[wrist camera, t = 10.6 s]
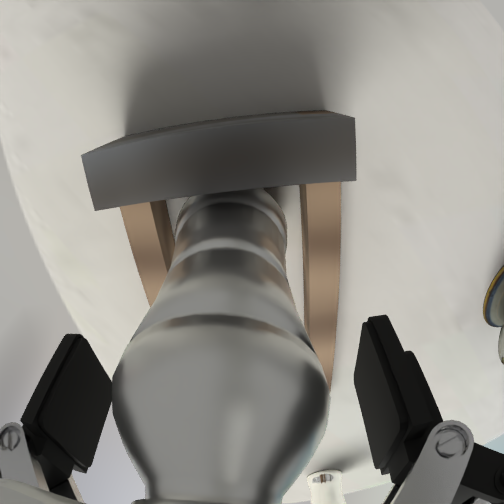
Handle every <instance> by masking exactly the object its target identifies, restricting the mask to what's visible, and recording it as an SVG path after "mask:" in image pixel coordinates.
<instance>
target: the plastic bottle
mask: <svg viewBox="0 0 504 504" xmlns="http://www.w3.org/2000/svg"><path fill="white" fill-rule="evenodd" d="M286 248H287V224H286V219H285V216H284V214H283V212H282V210H281V208H280V206H279V205H278V204H277V202H276V201H275V200H274V199H273V198H272V197H271V195H270V194H268V193H267V192H266V191H265V190H264V189H263V188H256V189H247V190H237V191H228V192H220V193H211V194H203V195H196V196H191V197H190V198H189V199H188V200H187V202H186V203H185V204H184V206H183V207H182V209H181V211H180V213H179V216H178V220H177V224H176V231H175V249H174V254H173V258H172V263H171V267H170V269H169V271H168V274H167V276H166V279H165V280H164V282H163V284H162V287H161V289H160V291H159V293H158V295H157V298H156V300H155V301H154V303H153V305H152V306H151V308H150V309H149V311H148V313H147V314H146V316H145V317H144V319H143V321H142V322H141V324H140V326H139V327H138V329H137V330H136V332H135V334H134V335H133V337H132V339H131V341H130V343H129V344H128V345H127V347H126V349H125V351H124V353H123V355H122V357H121V359H120V362H119V364H118V366H117V368H116V371H115V373H114V375H113V378H112V408H113V416H114V419H115V421H116V425H117V428H118V431H119V434H120V436H121V439H122V442H123V444H124V447H125V449H126V452H127V454H128V456H129V458H130V459H131V461H132V463H133V465H134V467H135V469H136V471H137V472H138V474H139V475H140V478H141V479H142V481H143V483H144V484H145V499H141V500H135V501H133V502H132V503H131V504H282V497H283V496H284V494H285V493H286V492H287V491H288V489H289V488H290V487H291V486H292V484H293V483H294V482H295V481H296V479H297V478H298V477H299V475H300V474H301V473H302V471H303V470H304V469H305V467H306V466H307V465H308V463H309V462H310V460H311V458H312V456H313V455H314V453H315V451H316V449H317V447H318V446H319V444H320V442H321V440H322V438H323V436H324V434H325V431H326V427H327V422H328V415H329V408H330V400H331V398H330V391H329V386H328V383H327V380H326V378H325V374H324V371H323V368H322V365H321V363H320V362H319V360H318V357H317V355H316V352H315V350H314V348H313V346H312V343H311V341H310V339H309V337H308V335H307V332H306V330H305V328H304V326H303V323H302V321H301V319H300V317H299V315H298V312H297V310H296V307H295V303H294V300H293V296H292V293H291V290H290V287H289V283H288V280H287V276H286V260H285V253H286Z"/></svg>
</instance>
